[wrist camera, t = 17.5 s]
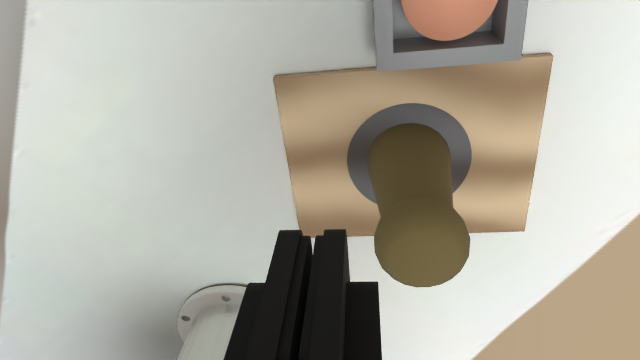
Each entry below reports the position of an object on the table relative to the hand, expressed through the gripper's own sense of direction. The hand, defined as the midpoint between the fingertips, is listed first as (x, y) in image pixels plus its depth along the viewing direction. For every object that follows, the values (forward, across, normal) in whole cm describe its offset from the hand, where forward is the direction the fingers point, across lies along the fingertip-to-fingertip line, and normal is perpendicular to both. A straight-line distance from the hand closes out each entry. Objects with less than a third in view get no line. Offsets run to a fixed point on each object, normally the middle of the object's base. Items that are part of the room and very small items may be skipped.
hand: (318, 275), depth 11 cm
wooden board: (+21, -4, +8) cm, 23 cm away
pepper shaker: (+21, -4, +8) cm, 23 cm away
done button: (+20, -6, -4) cm, 21 cm away
